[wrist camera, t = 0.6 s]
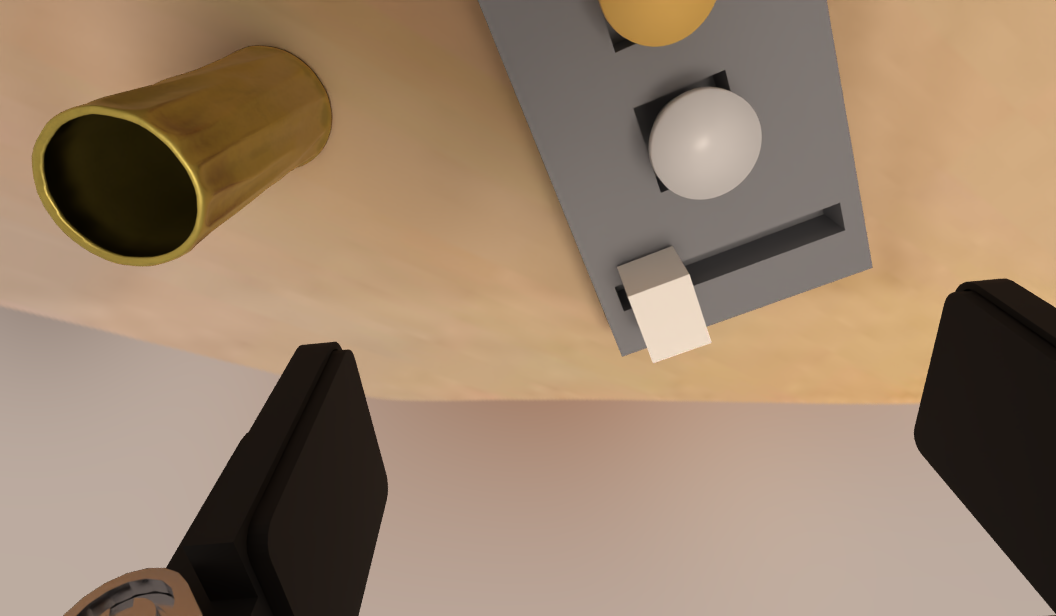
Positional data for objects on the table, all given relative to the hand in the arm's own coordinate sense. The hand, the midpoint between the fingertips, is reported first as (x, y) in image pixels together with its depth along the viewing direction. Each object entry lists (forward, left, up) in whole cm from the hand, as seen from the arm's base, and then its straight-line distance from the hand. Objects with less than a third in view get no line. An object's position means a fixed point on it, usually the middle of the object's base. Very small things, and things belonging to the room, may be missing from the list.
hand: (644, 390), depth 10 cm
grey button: (-6, +3, -22) cm, 23 cm away
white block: (-2, +10, -24) cm, 26 cm away
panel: (-6, +3, -25) cm, 26 cm away
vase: (+13, -5, -26) cm, 29 cm away
